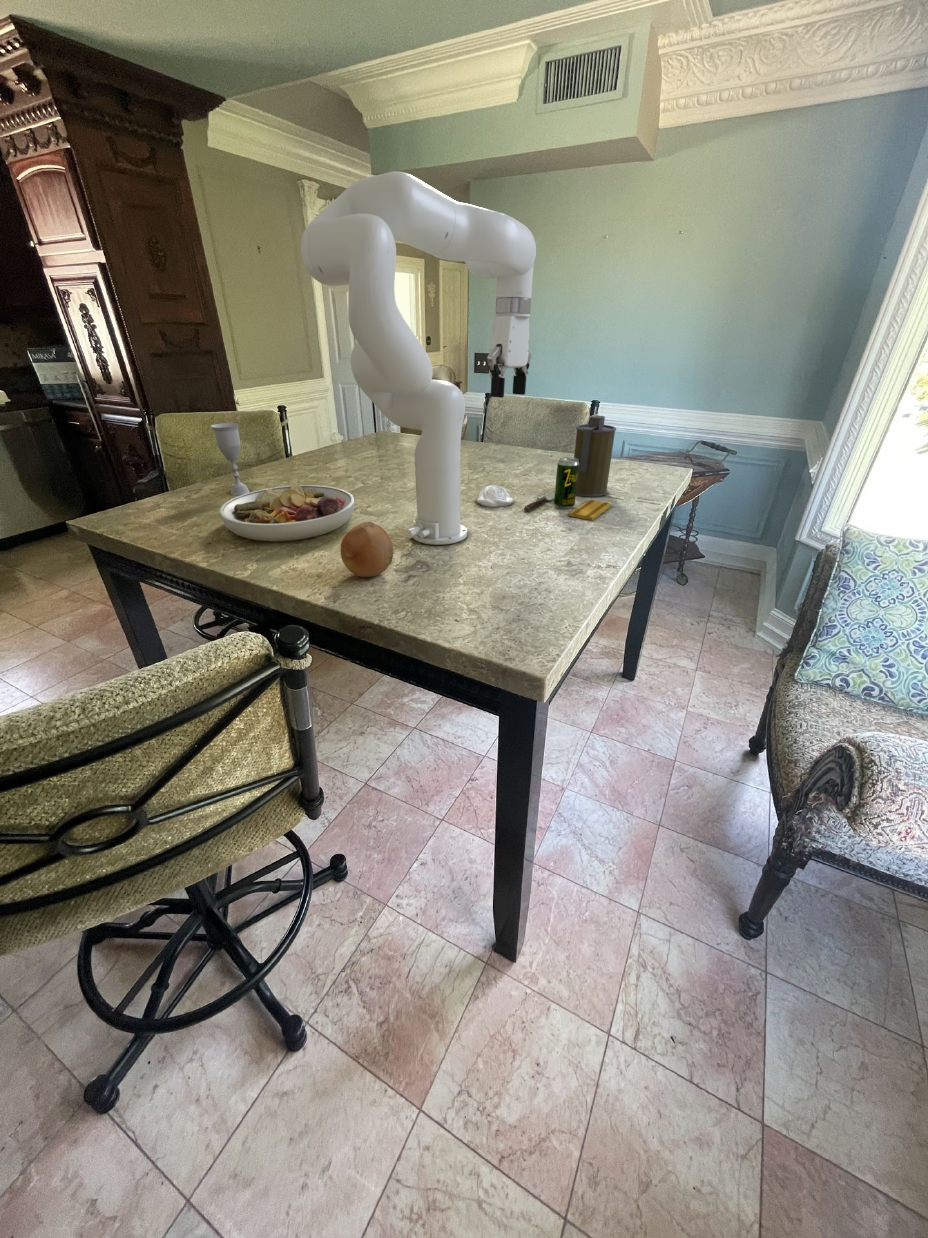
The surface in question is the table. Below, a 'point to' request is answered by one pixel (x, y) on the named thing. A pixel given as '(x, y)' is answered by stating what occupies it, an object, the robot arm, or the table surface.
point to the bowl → (288, 512)
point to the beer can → (566, 482)
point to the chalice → (230, 450)
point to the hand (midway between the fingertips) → (508, 395)
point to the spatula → (540, 500)
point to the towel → (590, 509)
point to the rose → (494, 497)
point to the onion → (366, 550)
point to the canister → (593, 456)
